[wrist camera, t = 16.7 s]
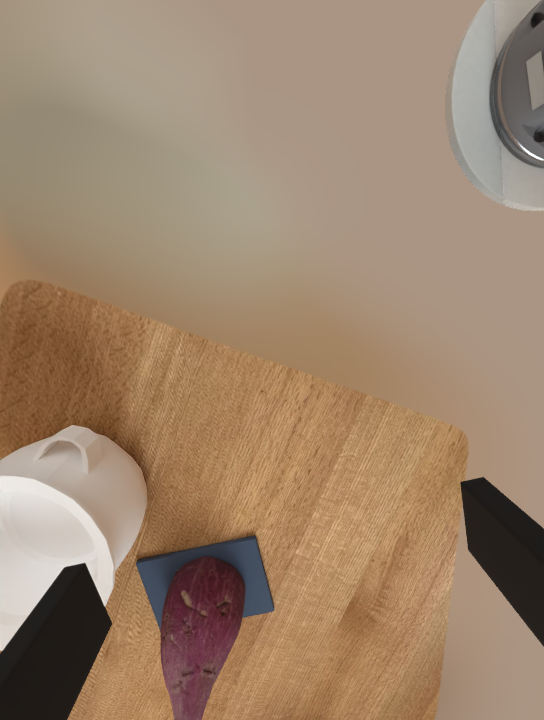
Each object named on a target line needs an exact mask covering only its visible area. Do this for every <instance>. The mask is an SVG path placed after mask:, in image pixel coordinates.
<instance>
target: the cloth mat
mask: <svg viewBox="0 0 544 720" xmlns="http://www.w3.org/2000/svg"><path fill="white" fill-rule="evenodd" d="M202 556H211V557H216V558H218V559H220V560H223V561H225V562H227V563H229V564H231V565H232V566H234V567H235V568H236V569H237V570H238V572H239V573H240V575H241V577H242V578H243V580H244V583H245V587H246V592H245V603H244V611H243V617H248V616H253V615H258V614H263V613H268V612H272V611H274V605H273V601H272V597H271V593H270V589H269V585H268V582H267V578H266V574H265V570H264V566H263V562H262V559H261V555H260V551H259V547H258V543H257V539H256V536H250V537H245V538H241V539H236V540H231V541H226V542H221V543H216V544H212V545H207V546H202V547H197V548H192V549H187V550H183V551H178V552H173V553H168V554H163V555H158V556H154V557H149V558H144V559H139V560H137V562H136V565H137V568H138V571H139V574H140V576H141V579H142V582H143V585H144V587H145V590H146V593H147V595H148V598H149V601H150V604H151V606H152V609H153V612H154V615H155V617H156V620H157V623H158V626H159V628H160V629H161V620H162V612H163V607H164V602H165V598H166V594H167V591H168V588H169V586H170V584H171V581H172V579H173V577H174V575H175V571H177V570H179V569H180V568H181V567H182V566H183V565H184V564H186V563H187V562H190V561H192V560H194V559H197V558H200V557H202ZM243 617H242V618H243Z"/></svg>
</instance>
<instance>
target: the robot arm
mask: <svg viewBox="0 0 544 720" xmlns="http://www.w3.org/2000/svg"><path fill="white" fill-rule="evenodd" d="M490 111H491V117H492V121H493V124H494V127H495V130H496V132H497V134H498V136H499V138H500V140H501V142H502V143H503V145H504V146H505V147H506V148H507V150H508V151H509V152H510V153H511V154H512V155H513V156H515V157H516V158H517V159H519V160H520V161H522V162H524V163H526V164H528V165H531V166H534V167H537V168H543V169H544V0H541V1H540V2H539V3H538V4H537V5H536V6H535V7H534V8H533V9H532V10H531V11H530V12H529V13H528V14H527V15H526V16H525V17H524V18H523V19H522V20H521V21H520V22H519V24H518V25H517V26H516V27H515V28H514V30H513V31H512V32H511V34H510V35H509V36H508V38H507V40H506V41H505V43H504V45H503V47H502V49H501V51H500V53H499V55H498V57H497V60H496V63H495V66H494V69H493V73H492V78H491V84H490ZM460 483H461V492H462V500H463V509H464V517H465V526H466V535H467V543H468V550H469V551H470V553H471V554H472V555H473V556H474V558H475V559H476V560H477V562H478V563H479V564H480V566H481V567H482V568H483V569H484V571H485V572H486V573H487V574H488V576H489V577H490V578H491V580H492V581H493V582H494V583H495V585H496V586H497V587H498V589H499V590H500V591H501V592H502V594H503V595H504V596H505V598H506V599H507V600H508V601H509V603H510V604H511V605H512V606H513V608H514V609H515V610H516V612H517V613H518V614H519V615H520V617H521V618H522V619H523V621H524V622H525V623H526V625H527V626H528V627H529V628H530V630H531V631H532V632H533V633H534V635H535V636H536V637H537V639H538V640H539V641H540V642H541V644H542V645H543V646H544V529H543V528H542V527H541V526H540V525H539V524H538V523H536V522H535V521H534V520H533V519H531V517H529V516H528V515H527V514H526V513H525V512H524V511H522V510H521V509H520V508H519V507H518V506H517V505H515V504H514V503H513V502H512V501H511V500H509V499H508V498H507V497H506V496H505V495H504V494H503V493H501V492H500V491H499V490H498V489H497V488H496V487H494V486H493V485H492V484H491V483H490V482H488V481H487V480H486V479H485V478H484V477H482V478H477V479H472V480H468V481H463V482H460ZM111 625H112V622H111V620H110V617H109V615H108V613H107V611H106V608H105V606H104V604H103V602H102V599H101V597H100V595H99V593H98V590H97V588H96V586H95V584H94V581H93V579H92V577H91V575H90V572H89V570H88V568H87V566H86V563H81V564H77V565H72V566H67V567H64V568H63V570H62V571H61V572H60V574H59V575H58V576H57V578H56V579H55V580H54V582H53V583H52V585H51V586H50V587H49V589H48V590H47V591H46V593H45V594H44V595H43V597H42V598H41V599H40V601H39V602H38V603H37V605H36V606H35V608H34V609H33V610H32V612H31V613H30V614H29V616H28V617H27V618H26V620H25V621H24V622H23V624H22V625H21V626H20V628H19V629H18V630H17V632H16V633H15V635H14V636H13V637H12V639H11V640H10V641H9V643H8V644H7V645H6V647H5V648H4V649H3V651H2V652H1V653H0V720H67V719H68V717H69V714H70V712H71V710H72V708H73V706H74V704H75V702H76V700H77V697H78V695H79V693H80V691H81V689H82V687H83V685H84V683H85V680H86V678H87V676H88V674H89V672H90V670H91V668H92V666H93V663H94V661H95V659H96V657H97V655H98V653H99V651H100V648H101V646H102V644H103V642H104V640H105V638H106V636H107V634H108V631H109V629H110V627H111Z"/></svg>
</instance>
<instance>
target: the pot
mask: <svg viewBox="0 0 544 720" xmlns="http://www.w3.org/2000/svg"><path fill="white" fill-rule="evenodd" d="M146 507H147V486H146V483H145V480H144V476H143V473H142V470H141V468H140V467H139V466H138V464H137V463H136V462H135V461H134V459H133V458H132V457H131V456H130V455H129V454H128V453H126V452H125V451H124V450H123V449H122V448H121V447H119V446H118V445H117V444H116V443H115V442H113V441H112V440H110V439H109V438H108V437H106V436H104V435H100V434H97V433H95V432H93V431H91V430H90V429H89V428H85V427H80V426H74V425H71V426H69V427H67V428H65V429H63V430H61V431H60V432H58V433H57V434H55V435H54V436H51V437H48V438H45V439H43V440H40V441H37V442H35V443H32V444H30V445H27V446H25V447H22V448H20V449H18V450H16V451H14V452H13V453H11V454H9V455H8V456H6V457H4V458H3V459H2V460H0V651H3V649H4V648H5V647H6V645H7V644H8V643H9V641H10V640H11V639H12V637H13V636H14V635H15V633H16V632H17V630H18V629H19V628H20V626H21V625H22V624H23V622H24V621H25V620H26V618H27V617H28V616H29V614H30V613H31V612H32V610H33V609H34V608H35V606H36V605H37V603H38V602H39V601H40V599H41V598H42V597H43V595H44V594H45V593H46V591H47V590H48V589H49V587H50V586H51V585H52V583H53V582H54V580H55V579H56V578H57V576H58V575H59V574H60V572H61V571H62V570H63V568H64V567H67V566H72V565H77V564H81V563H86V566H87V568H88V570H89V572H90V575H91V577H92V579H93V581H94V584H95V586H96V588H97V590H98V593H99V595H100V597H101V599H102V602H103V604H104V606H106V604H107V601H108V599H109V596H110V594H111V592H112V589H113V587H114V585H115V571H116V569H117V568H118V567H119V565H120V564H121V562H122V561H123V560H124V558H125V557H126V555H127V554H128V552H129V551H130V549H131V547H132V545H133V544H134V542H135V540H136V538H137V536H138V533H139V530H140V527H141V524H142V522H143V519H144V515H145V511H146Z"/></svg>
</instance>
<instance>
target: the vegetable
mask: <svg viewBox="0 0 544 720" xmlns="http://www.w3.org/2000/svg"><path fill="white" fill-rule="evenodd" d="M245 592H246V587H245V583H244V580H243V578H242V577H241V575H240V573H239V572H238V570H237V569H236V568H235V567H234V566H232V565H231V564H229V563H227V562H225V561H223V560H220V559H218V558H216V557H211V556H202V557H200V558H197V559H194V560H192V561H190V562H187V563H186V564H184V565H183V566H182V567H181V568H180V569H179V570H177V571H175V575H174V577H173V579H172V581H171V584H170V586H169V588H168V591H167V594H166V598H165V602H164V607H163V612H162V620H161V629H160V632H161V662H162V669H163V675H164V679H165V683H166V687H167V690H168V692H169V695H170V699H171V703H172V708H173V715H174V719H175V720H201V719H202V716H203V713H204V709H205V706H206V703H207V701H208V698H209V695H210V693H211V689H212V686H213V684H214V683H215V681H216V679H217V676H218V675H219V673H220V671H221V669H222V667H223V665H224V663H225V661H226V659H227V656H228V654H229V652H230V650H231V648H232V646H233V644H234V642H235V640H236V638H237V635H238V632H239V629H240V626H241V622H242V617H243V611H244V603H245Z"/></svg>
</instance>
